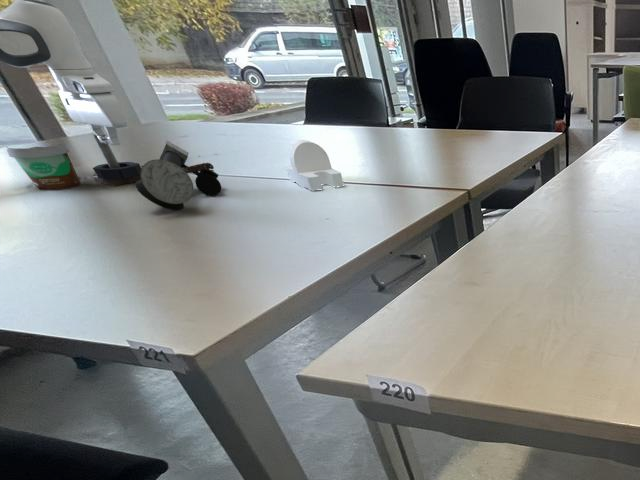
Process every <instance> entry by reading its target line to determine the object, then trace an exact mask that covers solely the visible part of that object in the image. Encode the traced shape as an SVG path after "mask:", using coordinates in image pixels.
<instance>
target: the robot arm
mask: <svg viewBox="0 0 640 480" xmlns="http://www.w3.org/2000/svg"><path fill="white" fill-rule="evenodd" d="M78 37H79V36H77V34H76V32H75V30H74V28H73V26H72V25H71V24H70V22H69V20H68V18H67V17H66V16H65V14H64V12H62V10H60V9H59V8H58V7H56V6H55V5H53V4H51V3H49V2H45V1H41V0H13V2H12V3H11V4H10V5H8V6H7V7H6V8H4V9H2V10H1V11H0V62H2V63H4V64H6V65H9V66H11V67H15V68H20V69H21V68H22V69H25V68H31V67H34V66H37V65H38V64H44V65H45V66H46V67H47V69H48V71H49V72H50V74H51V76H52V78H53V80H54V82H55V83H56V85H57V87H58V89H59V90H58V96H59V98H60V100H61V102H62V104H63V107H64V109H65V111H66V112H67V114H68V116H69V118H70V119H71V120H72V121H73V122H74V123H79V124H85V125H88V127H89V129H90V130H91V131H92V132H93V133H94V135H95V134H96V136H97V137H98V139H99V140H100V142H101V143H103V144H107V143H108V144H109V145H110V146H120V145H121V142H120V140H119V137H118V131H117V129H119V128H126V127H128V120H127V118H126V115H125V113H124V110H123V108H122V106H121V104H120V102H119V100H118V99H117V97H116V95H114V92H115V89H114V86H113V85H112V83H111V82H110V81H108V80H107V79H105V78H103V77H102V76H100V75H99V74H98V73H97V72H96V71H95V69H94V67H93V66H92V64H91V63H90V61H89V60H88V59H87V57H86V56H85V55H86V54H85V52H84V47H83V46H82V43H81V41H80V39H79V38H78ZM102 128H103V129H102ZM104 131H105V132H106V134H107V135H106V134H105V132H104Z"/></svg>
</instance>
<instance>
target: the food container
mask: <svg viewBox="0 0 640 480" xmlns="http://www.w3.org/2000/svg"><path fill="white" fill-rule="evenodd" d="M6 152H7V154H8V157H10V158H13V159H14V160H15V162H17V164H18V165H19V166H20V167H21V169H22V170H23V171H24V173H25V174H26V176H28V178H29V179H30V181H31V182H32V183H33V184H34V186H35V187H36V188H37V189H38V190H41V191H59V190H65V188H66V189H71V187H72V188H75V186H76V187H78V186H80V185H81V184H82V183H81V180H80V179H79V178H80V177H79V176H78V173H77V171H76V169H75V167H74V165H73V163H72V160H71V158H70V156H69V154H68V153H69V152H70V150H69V149H68V147H67V146H66V145H65V144H64V143H63V142H60V143H58V144H55V145H49V146H33V147H27V148H25V147H24V148H16V147H15V148H14V147H7V146H6ZM58 189H59V190H58Z"/></svg>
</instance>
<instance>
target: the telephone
mask: <svg viewBox="0 0 640 480" xmlns="http://www.w3.org/2000/svg"><path fill="white" fill-rule="evenodd" d="M188 157H189V152H188V151H187V150H185V149H184V148H182V147H179V146H178V145H176V144H174V143H173V142H171V141H169V140H166V141H165V144H164V145H163V149H162V151H161V153H160V155H159V158H158V159H152V160H148V161H147V162H145V163H144V164H143V166H142V167H141V173H140V176H141V180H139V181H137V182H134V185H135V188H136V191H137V192H138V193H140V194H141V196H143V197H144V198H145V199H146V200H148V201H149V202H151V203H153V204H155V205H156V206H159V207H161V208H164V209H167V210H170V211H175V212H176V211H178V212H179V211H182V210H184V208H185V203H186V202H188V201H189V200H190V199H191V198H192V196H193V194H194V191H195V190H194V187H196V189H197V190H198V191H199V192H200V193H202V195H205V196H207V197H216V195H217V196H219V195H220V194H221V191H222V184H221V182H220V180H219V179H218V178H219V173H217V172H215V171H214V165H213V164H212V163H211V162H203V163H198V164H194V165H190V166H188V165H187V164H186V161H187V159H188ZM189 174H193V175H195V176H196V177H195V179H194V182H193V181H192V178H191V177H190V175H189ZM193 183H195V186H194V184H193Z"/></svg>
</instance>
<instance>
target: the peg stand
mask: <svg viewBox="0 0 640 480" xmlns="http://www.w3.org/2000/svg"><path fill="white" fill-rule="evenodd" d="M92 137H93V139H94V141H95V143H96V145H97V147H98V149H99V151H100V152H101V155H102V156H103V158H104V160H105V161H106V164H108V165H109V167H110V168H121V167H120V165H119V163H118V162H119V161H118V159H117V157H116V155H115V154H114V152H113V150H112V149H111V145H110V143H107V144H103V143H101V142H100V140H99V139H98V137H97V136H96V134H95V133H94V134H92ZM92 177H93V180H94V181H95V183H99V182H101V183H100V184H103V183H106V184H105V185H108V184H110V185H109V186H113V185H117V186H121V185H120V184H122V185H127V184H132V183H136V182H137V181H139V180H141V176H138V177H132V178H127V179H113V180H105V179H101V178H98V177H97V175H93V176H92ZM126 183H127V184H126Z"/></svg>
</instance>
